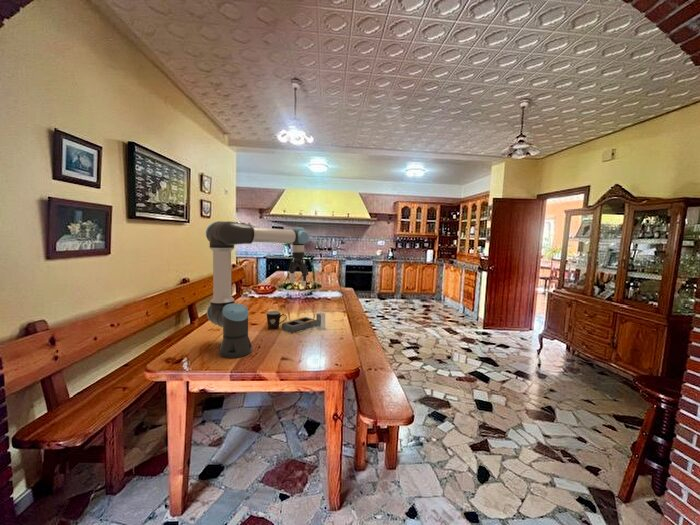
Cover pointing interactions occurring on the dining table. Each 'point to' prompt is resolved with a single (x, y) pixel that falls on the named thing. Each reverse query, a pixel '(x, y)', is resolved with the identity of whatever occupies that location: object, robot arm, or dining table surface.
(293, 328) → the grey cinder block
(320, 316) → the aluminium peg
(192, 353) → the dining table surface
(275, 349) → the dining table surface
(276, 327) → the coffee mug
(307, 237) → the robot arm
